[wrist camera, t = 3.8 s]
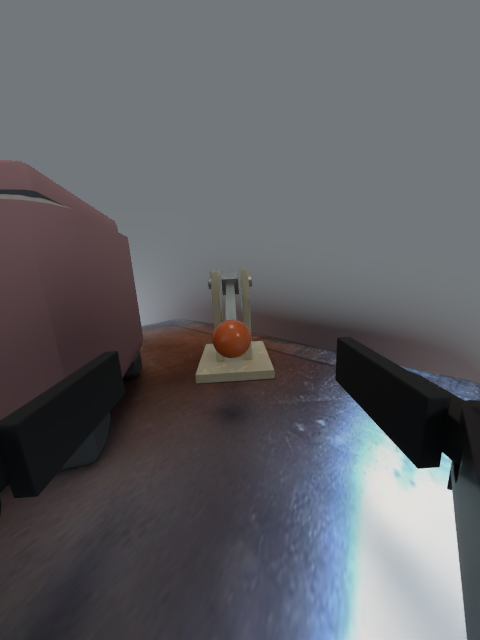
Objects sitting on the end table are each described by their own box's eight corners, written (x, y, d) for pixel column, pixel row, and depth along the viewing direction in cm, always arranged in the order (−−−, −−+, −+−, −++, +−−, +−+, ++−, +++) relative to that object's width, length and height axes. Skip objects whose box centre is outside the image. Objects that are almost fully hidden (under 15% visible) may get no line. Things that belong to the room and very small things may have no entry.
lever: (253, 365, 21) (252, 333, 19) (213, 367, 21) (209, 335, 19) (242, 289, 35) (241, 266, 33) (218, 290, 35) (216, 267, 33)
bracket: (274, 378, 30) (272, 267, 27) (196, 383, 29) (184, 272, 26) (262, 347, 41) (260, 267, 38) (206, 350, 41) (199, 271, 38)
